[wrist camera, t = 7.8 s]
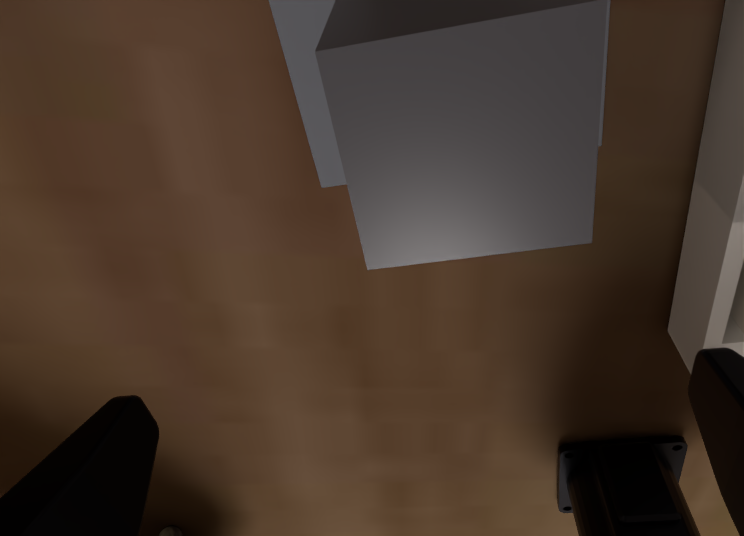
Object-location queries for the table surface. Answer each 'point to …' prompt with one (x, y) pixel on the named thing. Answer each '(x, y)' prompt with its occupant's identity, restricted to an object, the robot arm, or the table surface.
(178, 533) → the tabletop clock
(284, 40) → the slate mat
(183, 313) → the table surface
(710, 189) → the power strip
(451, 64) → the grey rectangular block
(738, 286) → the block
